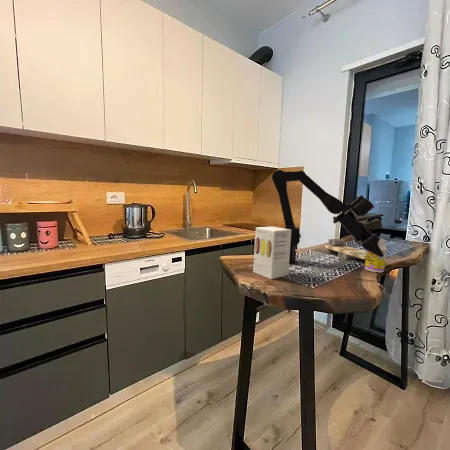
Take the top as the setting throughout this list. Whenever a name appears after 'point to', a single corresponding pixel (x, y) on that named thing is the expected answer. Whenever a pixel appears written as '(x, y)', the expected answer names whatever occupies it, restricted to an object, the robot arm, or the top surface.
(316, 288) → the top surface
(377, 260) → the supplement bottle
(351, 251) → the balance beam
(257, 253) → the supplement box
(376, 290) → the top surface
